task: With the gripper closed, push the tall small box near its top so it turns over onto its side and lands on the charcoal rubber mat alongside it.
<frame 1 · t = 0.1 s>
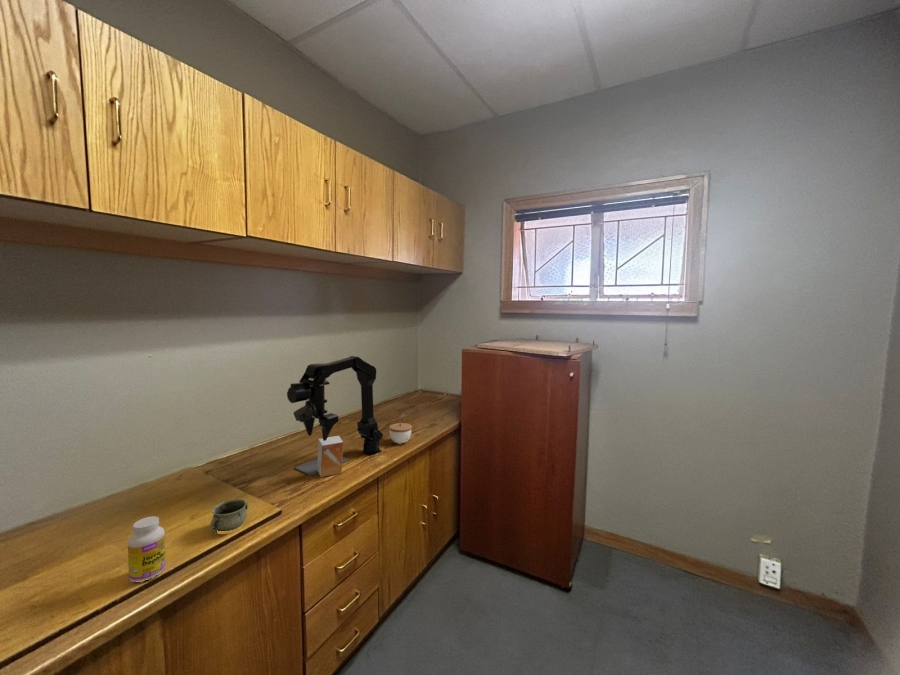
hand: (317, 438, 135), 15 cm above the worktop, fingers open, 9 cm apart
supplement bottle: (148, 574, 85), on the worktop
small box: (329, 472, 139), on the worktop, touching mat
mat: (322, 464, 146), on the worktop
lidded jar: (400, 442, 173), on the worktop
vessel: (230, 527, 103), on the worktop
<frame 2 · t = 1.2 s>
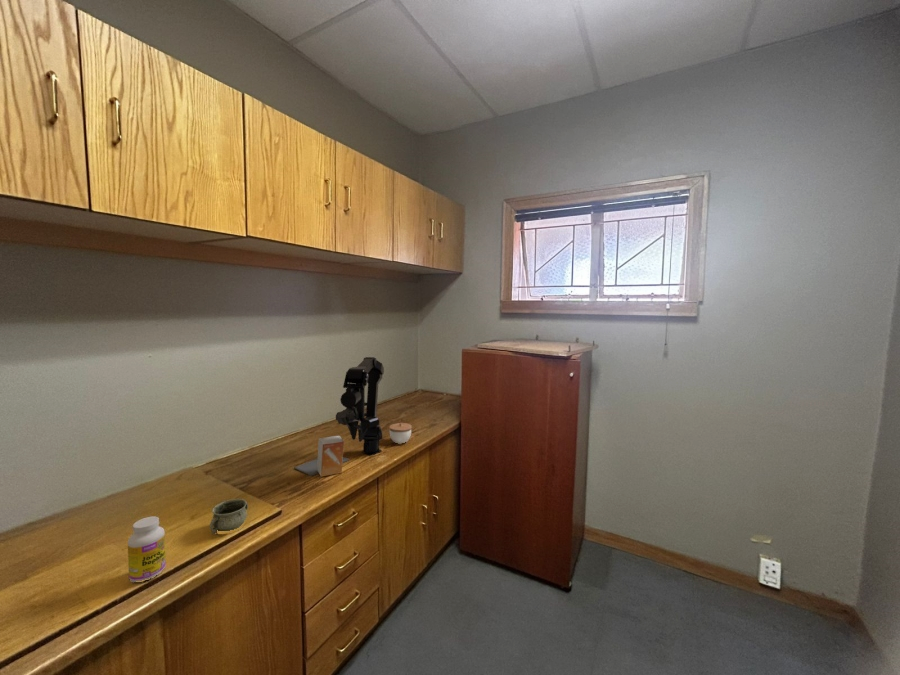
hand: (357, 440, 138), 13 cm above the worktop, fingers open, 3 cm apart
small box: (329, 472, 139), on the worktop, touching mat
everything else where it was.
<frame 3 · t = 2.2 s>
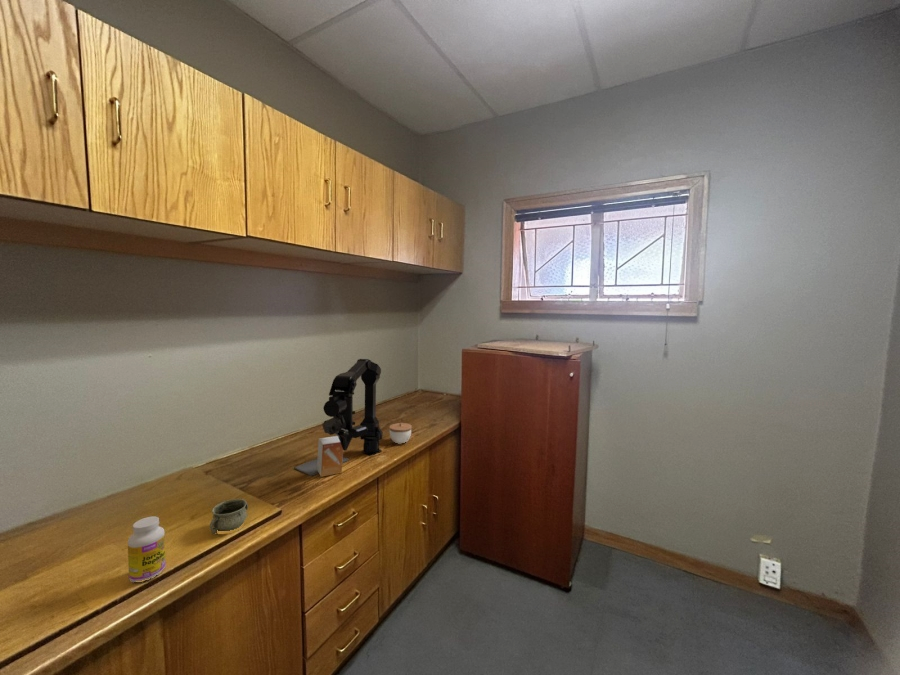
hand: (344, 450, 133), 11 cm above the worktop, fingers closed
small box: (329, 472, 139), on the worktop, touching mat
everything else where it was.
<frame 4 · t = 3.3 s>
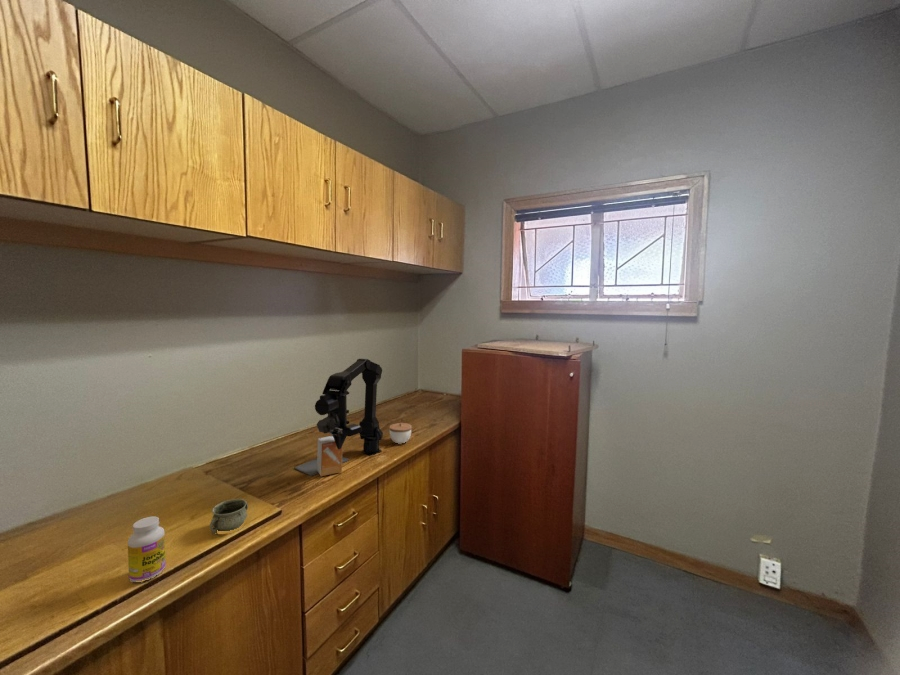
hand: (339, 448, 135), 11 cm above the worktop, fingers closed
small box: (329, 471, 139), on the worktop, touching gripper, mat
everything else where it was.
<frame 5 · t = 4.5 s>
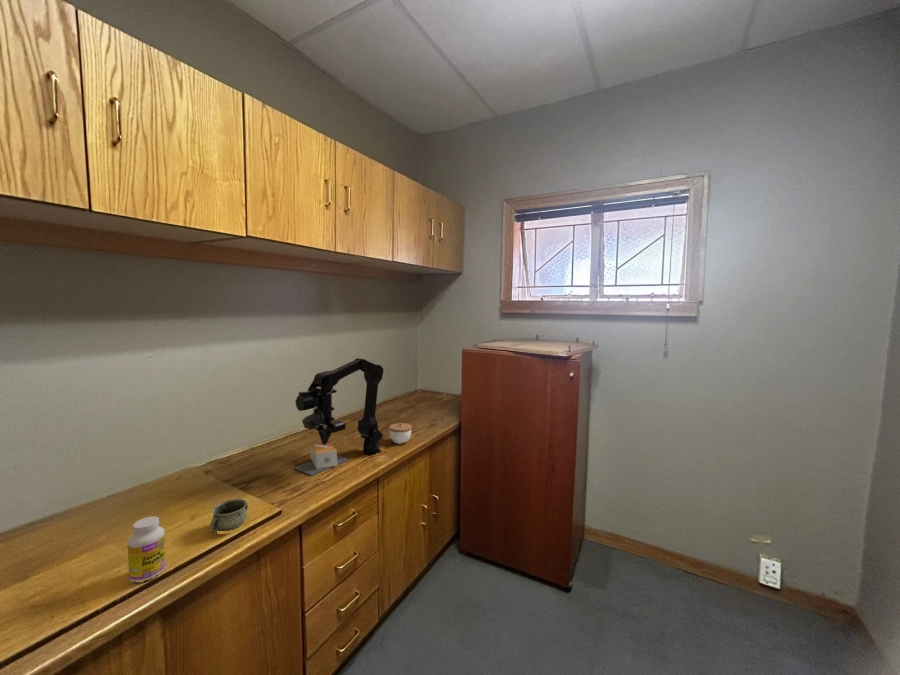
hand: (324, 444, 140), 11 cm above the worktop, fingers closed
small box: (327, 460, 141), point 4 cm above the worktop, touching mat
everything else where it was.
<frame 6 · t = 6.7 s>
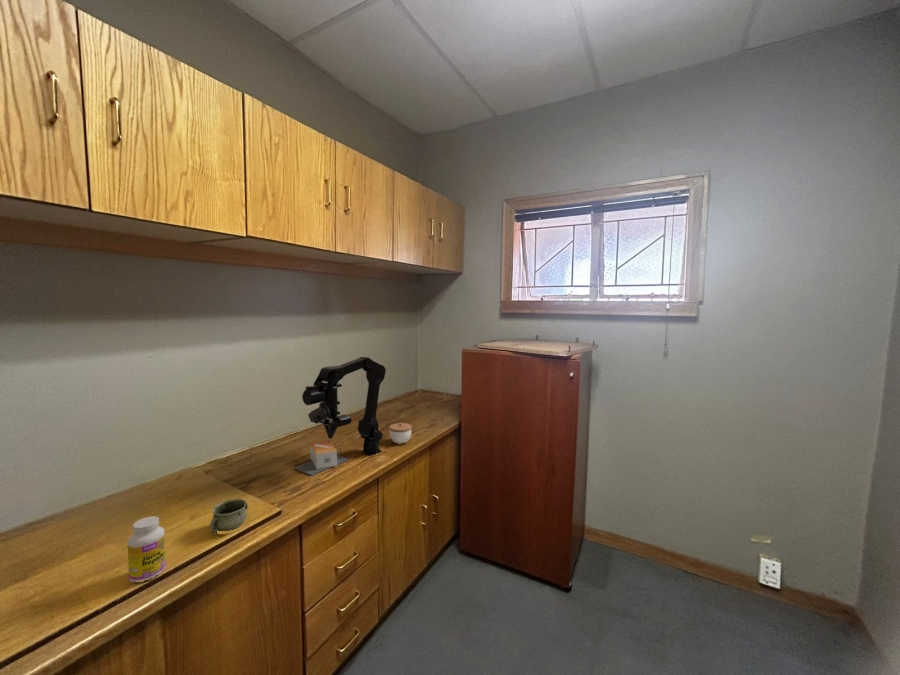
hand: (330, 438, 140), 13 cm above the worktop, fingers closed
nothing on the worktop moved.
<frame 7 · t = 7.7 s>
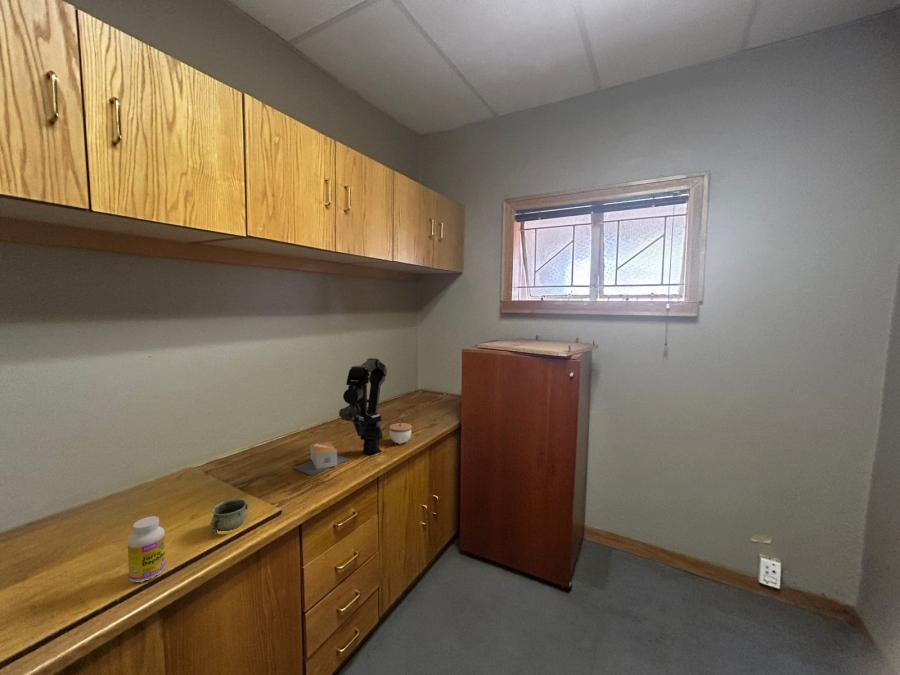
hand: (359, 436, 143), 13 cm above the worktop, fingers closed
nothing on the worktop moved.
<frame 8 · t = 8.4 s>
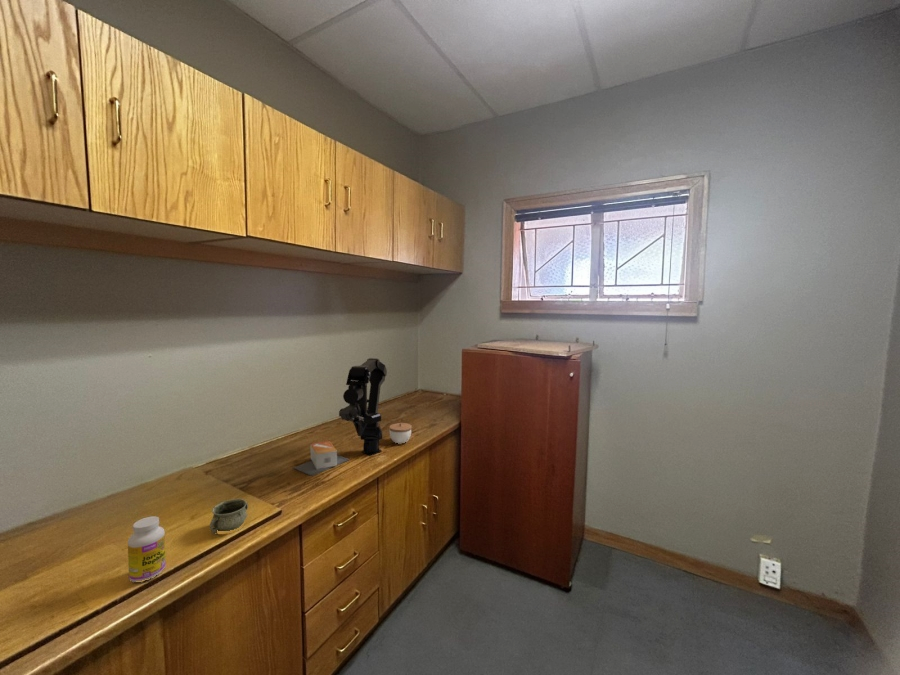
hand: (359, 436, 143), 13 cm above the worktop, fingers closed
nothing on the worktop moved.
at the end: small box tilted 90°; small box 5.8 cm from the mat (horizontally); the gripper is holding nothing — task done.
